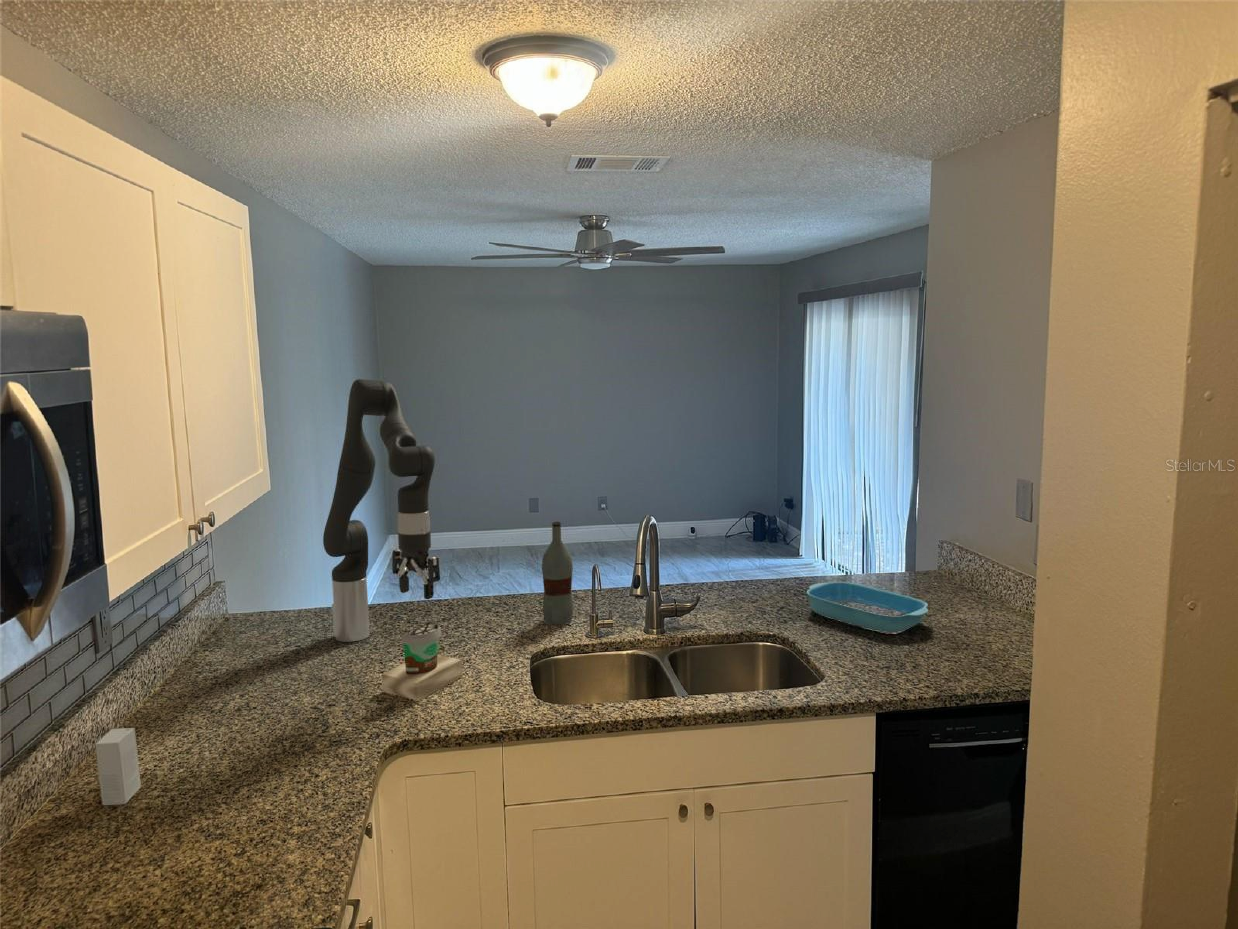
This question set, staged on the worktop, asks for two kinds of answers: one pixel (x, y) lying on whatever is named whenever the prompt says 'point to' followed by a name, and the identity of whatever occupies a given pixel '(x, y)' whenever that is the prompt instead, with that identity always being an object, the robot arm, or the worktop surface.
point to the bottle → (557, 580)
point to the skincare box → (118, 766)
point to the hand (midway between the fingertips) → (416, 595)
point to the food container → (422, 648)
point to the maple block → (422, 679)
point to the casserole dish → (829, 593)
